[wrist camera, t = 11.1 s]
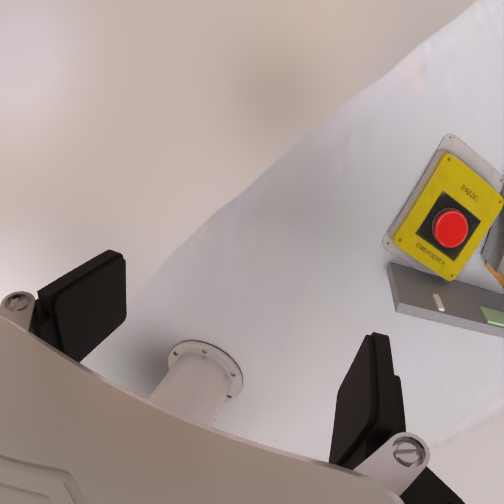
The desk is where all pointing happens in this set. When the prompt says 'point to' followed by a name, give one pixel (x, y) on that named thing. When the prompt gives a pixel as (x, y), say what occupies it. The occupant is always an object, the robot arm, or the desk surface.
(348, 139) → the desk surface
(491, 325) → the frame
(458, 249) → the emergency button
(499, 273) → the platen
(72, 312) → the robot arm
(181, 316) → the desk surface
